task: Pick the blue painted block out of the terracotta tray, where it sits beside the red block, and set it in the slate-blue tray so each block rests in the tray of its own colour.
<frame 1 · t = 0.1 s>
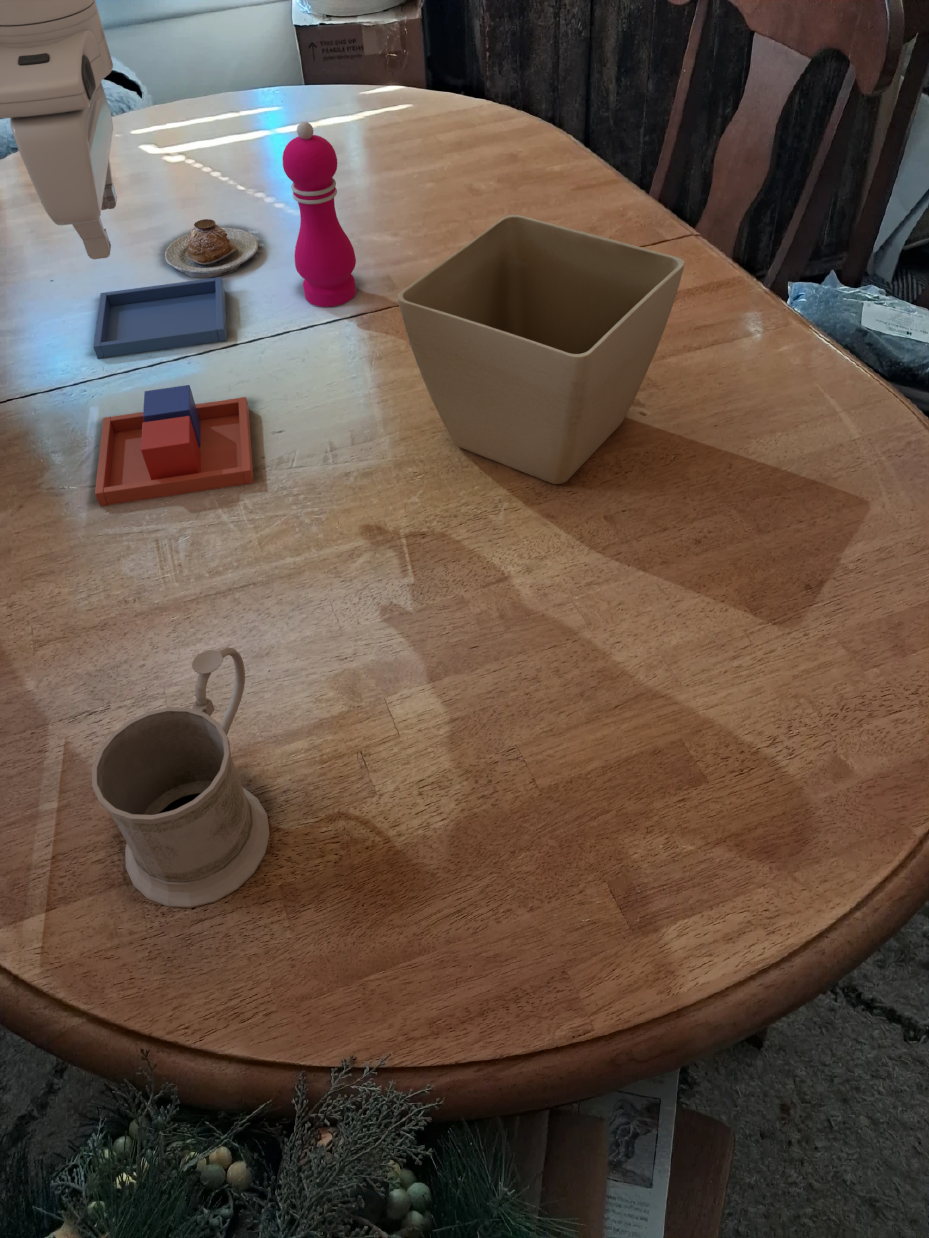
hand: (104, 229, 85), 22 cm above the table, tool pointing down, fingers open, 8 cm apart
blue tray: (164, 325, 117), on the table
blue block: (178, 437, 101), resting on red tray
mug: (216, 816, 70), on the table
red block: (177, 470, 97), resting on red tray
pepper mill: (330, 296, 121), on the table
pastry: (214, 258, 129), on the table
flower pot: (541, 436, 99), on the table
red tray: (179, 459, 99), on the table
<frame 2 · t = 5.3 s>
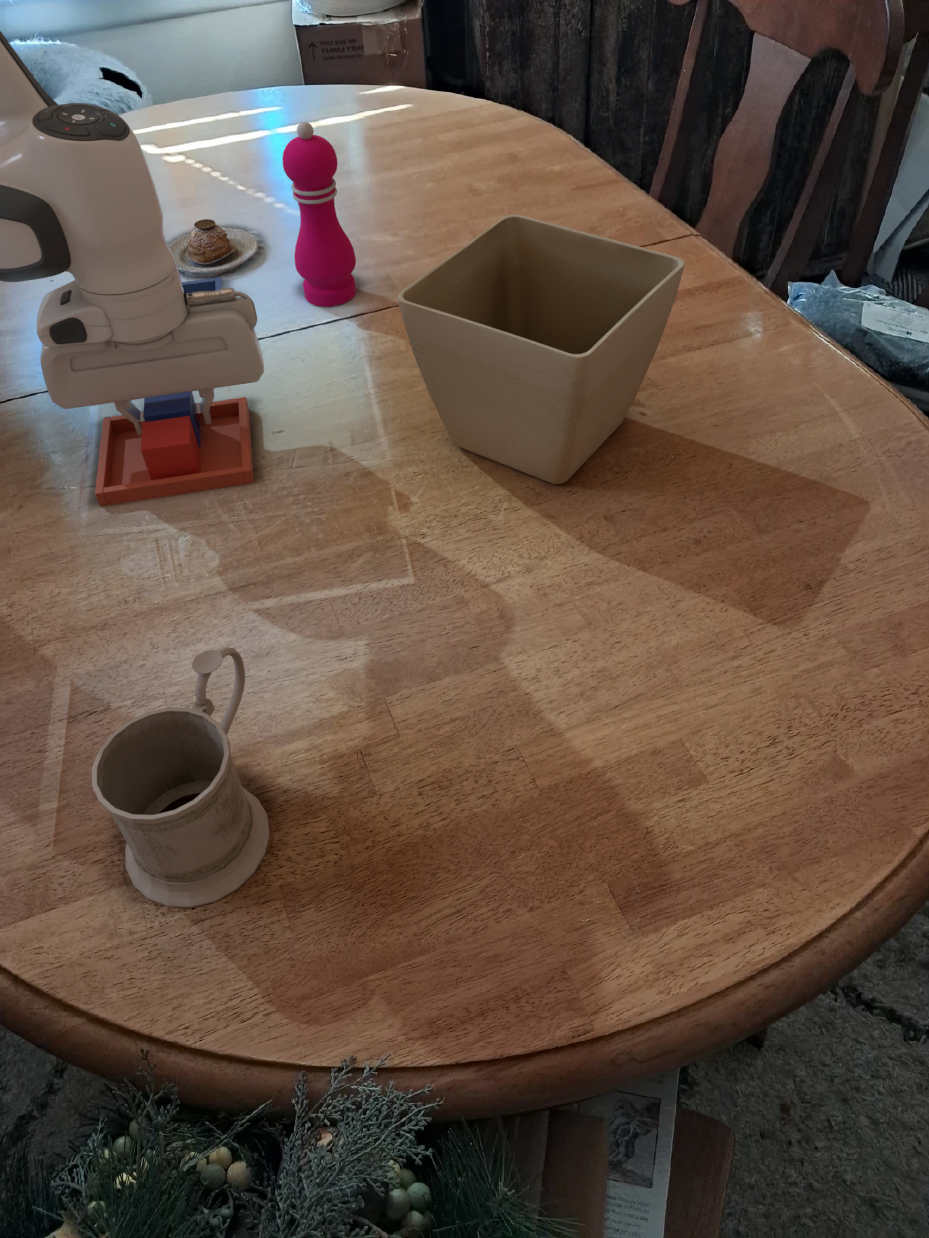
hand: (174, 426, 100), 2 cm above the table, tool pointing down, fingers closed on blue block, 4 cm apart
blue block: (178, 437, 101), resting on red tray, touching gripper
everything else where it was.
when the fingers open (2 cm above the table, at t = 13.3 s): blue block stays where it is, resting on blue tray.
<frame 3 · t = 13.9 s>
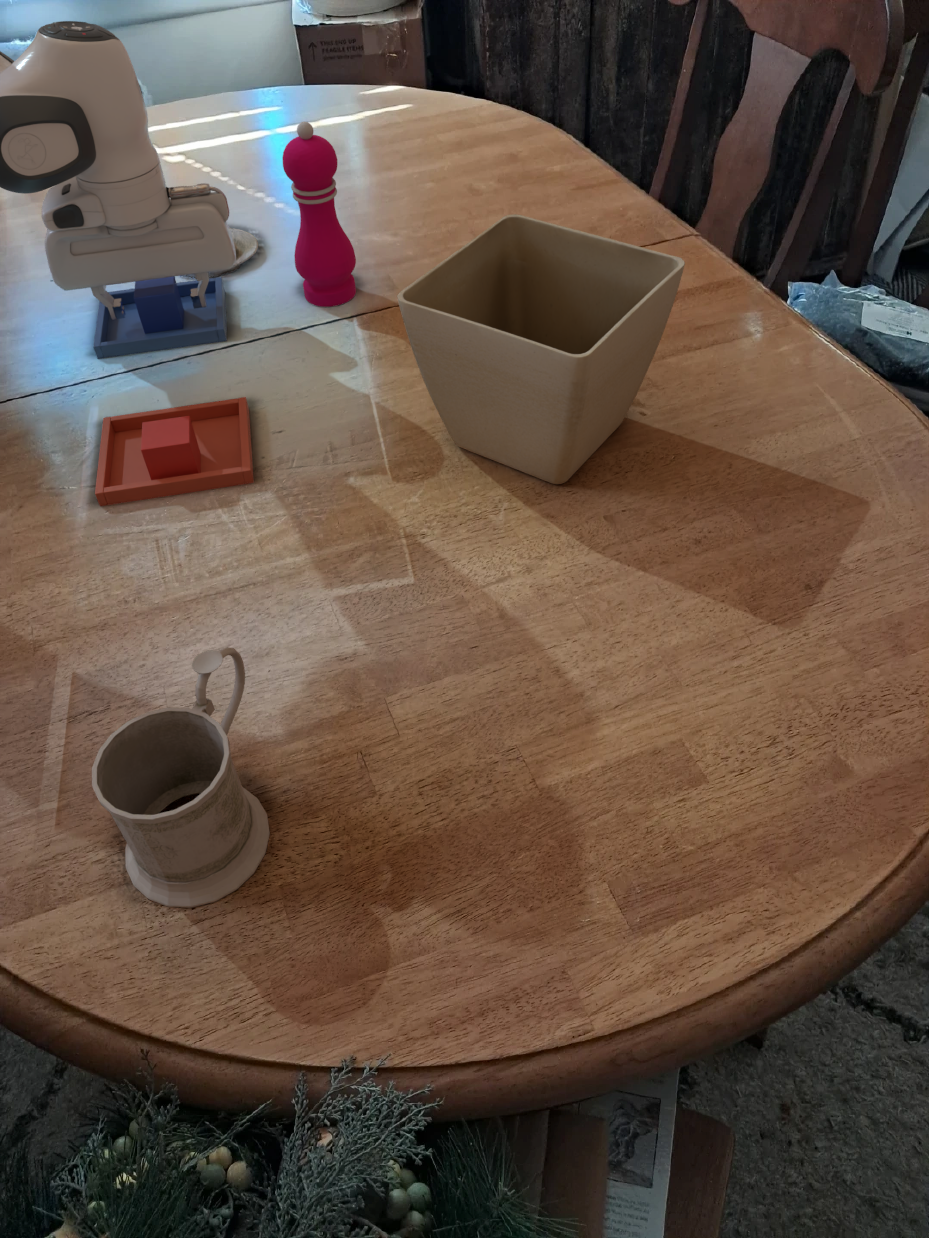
hand: (160, 311, 116), 2 cm above the table, tool pointing down, fingers open, 8 cm apart
blue block: (164, 321, 117), resting on blue tray
everything else where it was.
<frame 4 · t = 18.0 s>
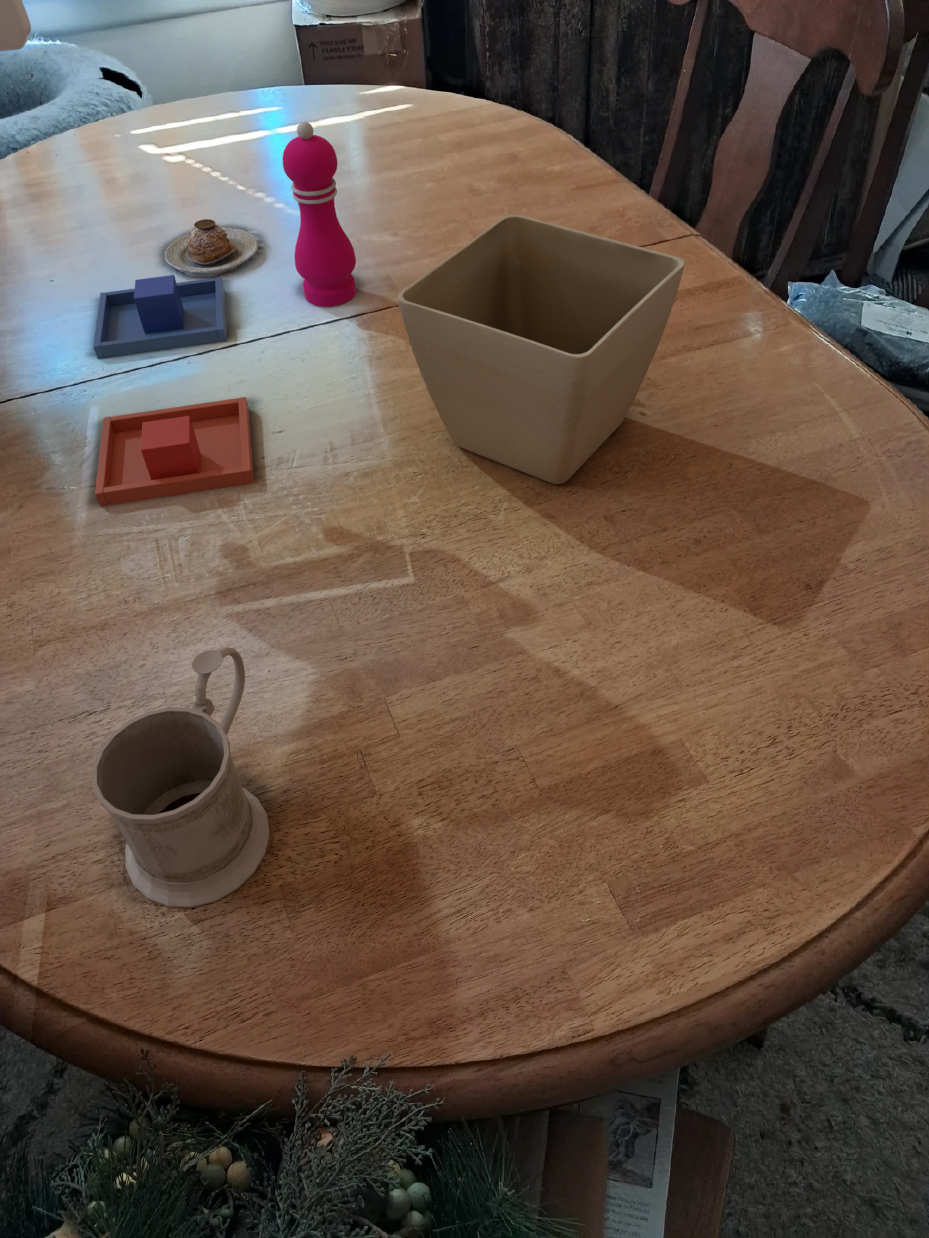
nothing on the table moved.
at the end: blue block inside the target area in the blue tray (0.1 cm from its centre), point 0.5 cm above the blue tray's base; red block inside the target area in the red tray (2.5 cm from its centre), point 0.5 cm above the red tray's base; blue block tilted 0° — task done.
